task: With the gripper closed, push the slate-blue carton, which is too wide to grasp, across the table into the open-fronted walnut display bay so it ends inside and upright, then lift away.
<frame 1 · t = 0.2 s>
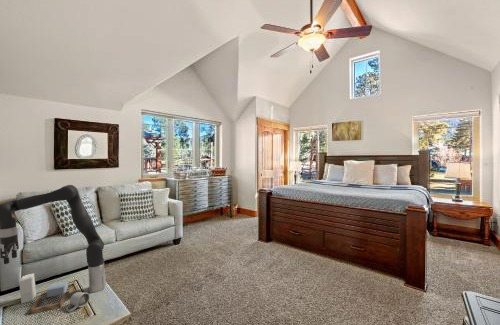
hand: (10, 260, 142), 29 cm above the table, tool pointing down, fingers open, 8 cm apart
ceramic mug: (77, 306, 142), on the table
skincare box: (28, 299, 150), on the table
display bay: (50, 303, 145), on the table
slate carton: (57, 292, 157), on the table
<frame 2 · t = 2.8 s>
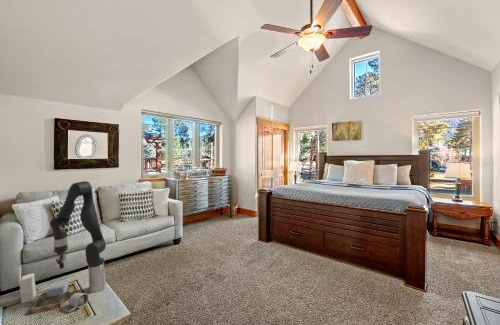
hand: (61, 268, 165), 12 cm above the table, tool pointing down, fingers closed
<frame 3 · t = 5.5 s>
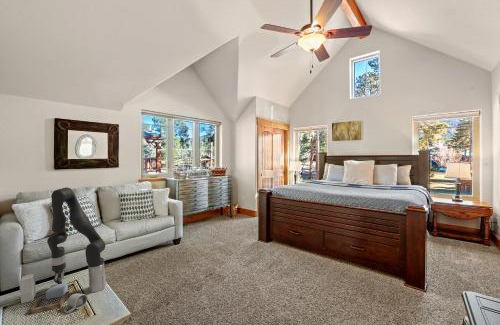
hand: (60, 286, 161), 2 cm above the table, tool pointing down, fingers closed
slate carton: (57, 294, 155), on the table, touching gripper
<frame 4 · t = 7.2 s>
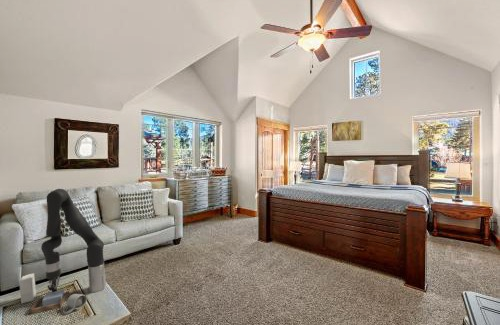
hand: (54, 294, 152), 2 cm above the table, tool pointing down, fingers closed
slate carton: (54, 302, 147), on the table, touching gripper
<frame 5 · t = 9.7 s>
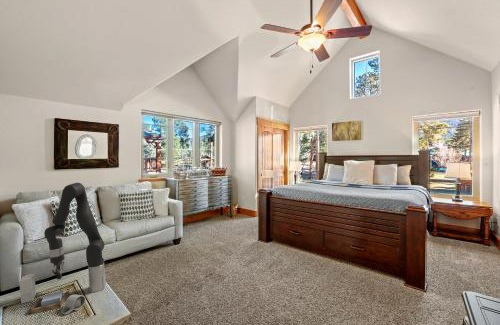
hand: (59, 278, 158), 8 cm above the table, tool pointing down, fingers closed
slate carton: (53, 303, 145), on the table
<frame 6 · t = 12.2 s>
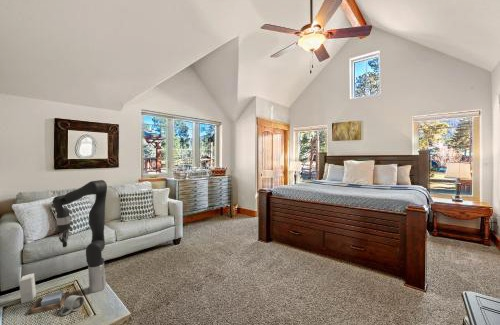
hand: (64, 246, 166), 27 cm above the table, tool pointing down, fingers closed
at the end: slate carton 1.6 cm off-centre on the display bay, point 0.0 cm above the display bay's base; slate carton tilted 0°; skincare box moved 0.2 cm from its start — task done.
